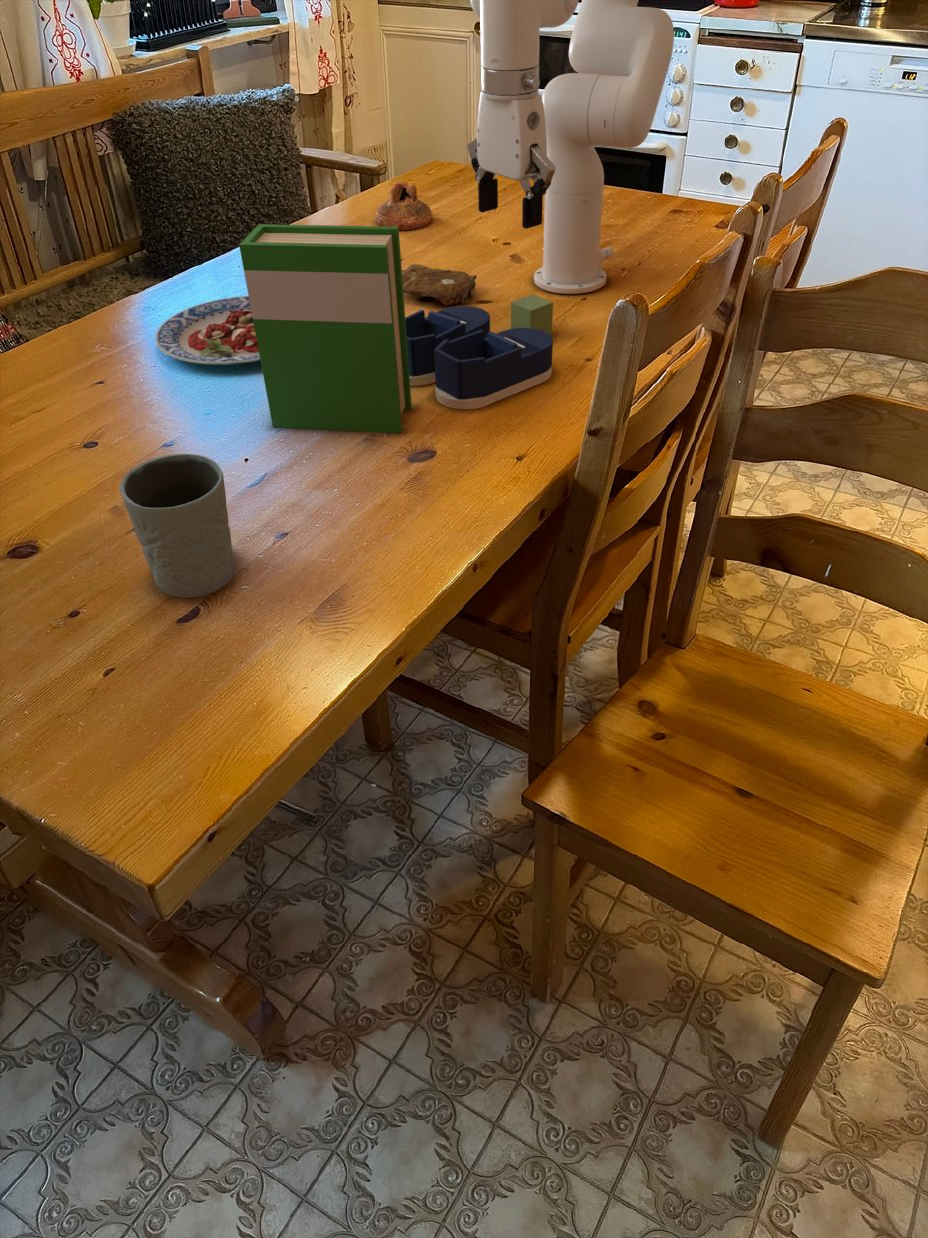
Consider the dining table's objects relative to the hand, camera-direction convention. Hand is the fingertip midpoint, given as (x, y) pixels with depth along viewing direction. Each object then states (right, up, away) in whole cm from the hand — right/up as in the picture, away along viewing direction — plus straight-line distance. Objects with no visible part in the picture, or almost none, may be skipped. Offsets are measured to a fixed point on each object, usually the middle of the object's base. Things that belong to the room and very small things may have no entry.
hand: (509, 217), depth 131 cm
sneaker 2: (-2, -24, 0) cm, 24 cm away
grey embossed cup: (-35, -53, -32) cm, 71 cm away
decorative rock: (-12, -2, +27) cm, 29 cm away
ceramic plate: (-42, -13, +14) cm, 46 cm away
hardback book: (-23, -30, -6) cm, 38 cm away
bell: (-19, +24, +57) cm, 65 cm away
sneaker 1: (-10, -19, +7) cm, 22 cm away
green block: (+4, -13, +13) cm, 18 cm away
